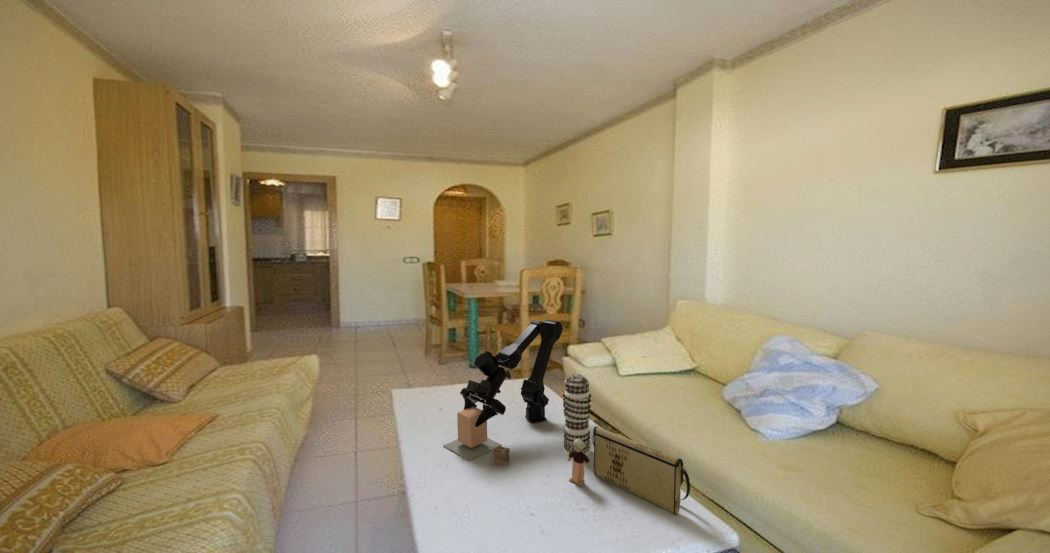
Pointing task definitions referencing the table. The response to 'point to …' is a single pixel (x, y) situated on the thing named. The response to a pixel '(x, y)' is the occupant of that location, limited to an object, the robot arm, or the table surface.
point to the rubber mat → (471, 452)
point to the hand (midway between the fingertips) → (468, 423)
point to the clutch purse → (639, 469)
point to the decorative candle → (576, 412)
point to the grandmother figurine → (578, 462)
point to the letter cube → (501, 456)
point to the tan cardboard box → (471, 427)
